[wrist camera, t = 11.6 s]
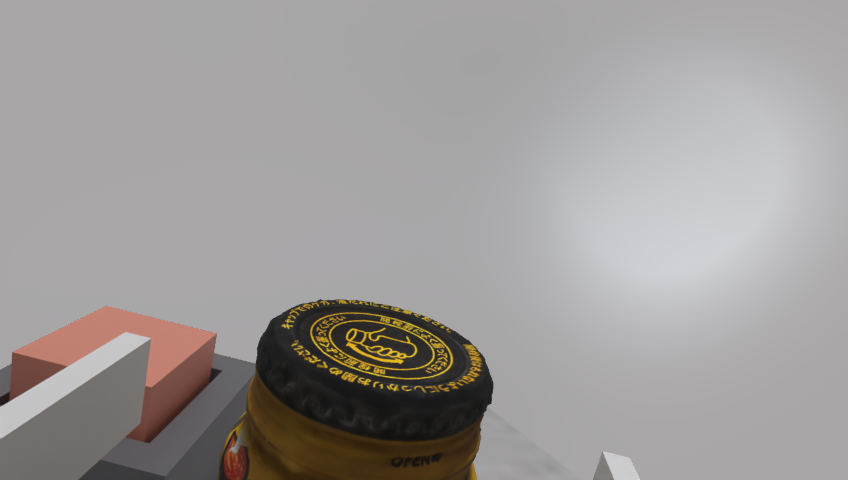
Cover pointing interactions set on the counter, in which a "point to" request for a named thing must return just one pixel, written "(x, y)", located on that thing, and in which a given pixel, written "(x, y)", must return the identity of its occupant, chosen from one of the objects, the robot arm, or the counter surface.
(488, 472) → the counter surface
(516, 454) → the counter surface
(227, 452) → the condiment
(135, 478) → the button housing
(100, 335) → the button
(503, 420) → the counter surface
